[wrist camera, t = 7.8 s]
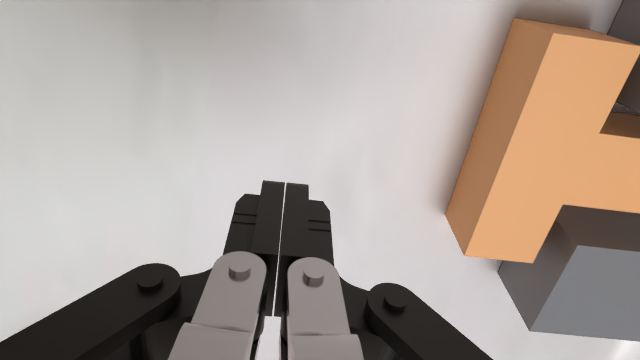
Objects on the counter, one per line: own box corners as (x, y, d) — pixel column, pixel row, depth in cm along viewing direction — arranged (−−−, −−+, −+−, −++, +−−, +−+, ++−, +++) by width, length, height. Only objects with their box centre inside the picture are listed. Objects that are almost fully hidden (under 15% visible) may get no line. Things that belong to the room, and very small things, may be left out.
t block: (513, 17, 21) (553, 33, 17) (734, 51, 22) (814, 72, 18) (445, 215, 27) (464, 255, 23) (620, 235, 28) (664, 277, 24)
